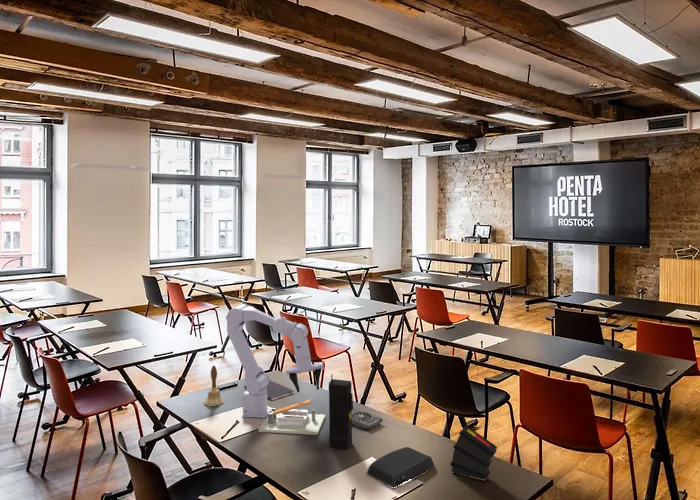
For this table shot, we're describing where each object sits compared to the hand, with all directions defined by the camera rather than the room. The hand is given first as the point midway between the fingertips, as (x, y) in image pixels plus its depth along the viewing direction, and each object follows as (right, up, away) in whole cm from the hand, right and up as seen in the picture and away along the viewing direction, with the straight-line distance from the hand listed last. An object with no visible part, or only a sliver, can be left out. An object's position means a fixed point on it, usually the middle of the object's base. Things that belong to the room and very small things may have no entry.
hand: (308, 390), depth 206 cm
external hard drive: (+32, -16, -39) cm, 53 cm away
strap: (-6, -6, -5) cm, 10 cm away
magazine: (+54, -15, -43) cm, 71 cm away
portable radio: (+13, -13, -22) cm, 29 cm away
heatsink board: (-5, -12, -4) cm, 14 cm away
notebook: (-20, -9, +32) cm, 39 cm away
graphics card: (+19, -12, -3) cm, 23 cm away
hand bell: (-41, -10, +17) cm, 46 cm away
